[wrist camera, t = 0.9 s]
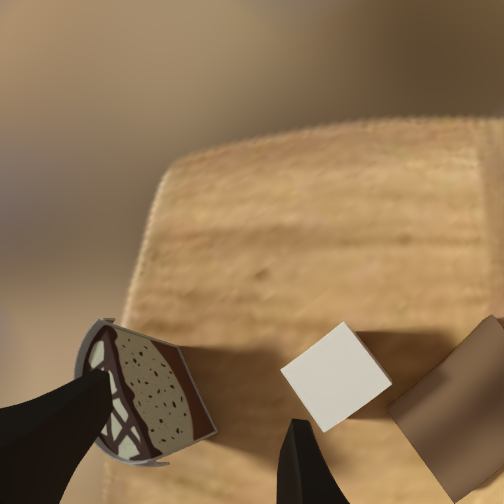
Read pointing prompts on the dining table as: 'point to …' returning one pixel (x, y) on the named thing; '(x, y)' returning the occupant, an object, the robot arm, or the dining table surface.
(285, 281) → the dining table surface
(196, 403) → the food container
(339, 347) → the ceramic block
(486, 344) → the block
